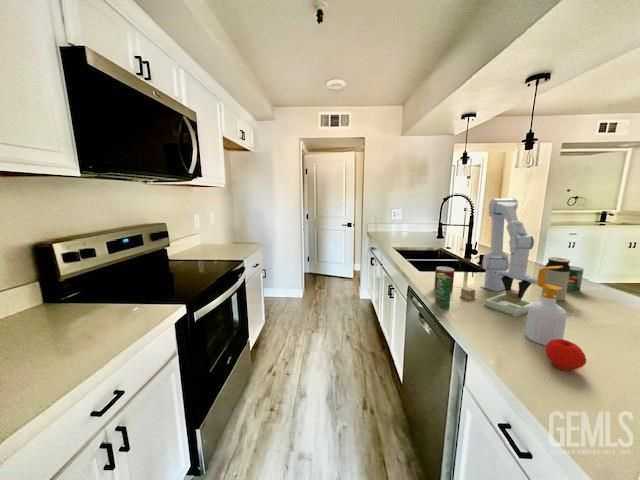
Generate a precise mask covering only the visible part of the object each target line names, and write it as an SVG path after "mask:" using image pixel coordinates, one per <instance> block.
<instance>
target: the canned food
mask: <svg viewBox="0 0 640 480" xmlns="http://www.w3.org/2000/svg"><path fill="white" fill-rule="evenodd" d="M437 273H443V274H445V275H447V276H448V277H450V278H452V281H451V293H452V292H453V289H454V279H455V269H454V268H453V267H449V266H442V265H441V266H436V268H435V274H434V275H435V276H434V278H435V279H434V290H435V291H436V280H437Z"/></svg>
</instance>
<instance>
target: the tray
mask: <svg viewBox="0 0 640 480" xmlns="http://www.w3.org/2000/svg"><path fill="white" fill-rule="evenodd" d="M505 295H506V293H500V294H498V295H495V296H493V297H489V298H487V299H484V305H483V306H485V307H487V308H489V309H492V310H496V311H498V312H501V313H504V314H506V315H509V316H512V317H515V318H518V317H520V316H523V315H525V314H528V309H529V306H530V305H531V304H532V303H533V302H532V301H528V300H525V299H523V298H521V301H520V302H518V303H513V302H510V301H507V300H505Z"/></svg>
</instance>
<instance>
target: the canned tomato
mask: <svg viewBox="0 0 640 480" xmlns="http://www.w3.org/2000/svg"><path fill="white" fill-rule="evenodd" d="M569 266H570V273H569V278H568V284H567V290H566V292H571V293H580V292H581V289H582V288H581V287H582V282H583V281H582V280H583V276H584V268H583V267H579V266H574V265H569Z"/></svg>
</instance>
